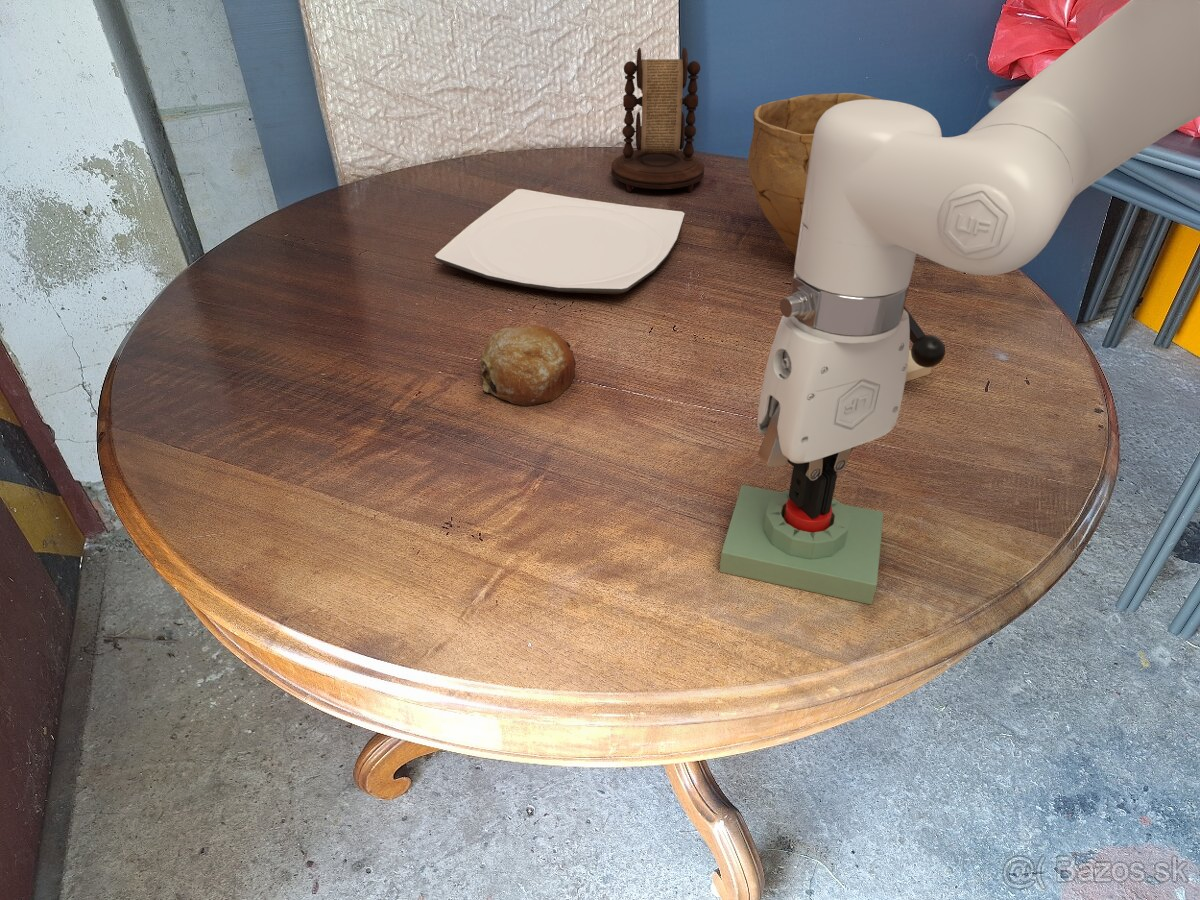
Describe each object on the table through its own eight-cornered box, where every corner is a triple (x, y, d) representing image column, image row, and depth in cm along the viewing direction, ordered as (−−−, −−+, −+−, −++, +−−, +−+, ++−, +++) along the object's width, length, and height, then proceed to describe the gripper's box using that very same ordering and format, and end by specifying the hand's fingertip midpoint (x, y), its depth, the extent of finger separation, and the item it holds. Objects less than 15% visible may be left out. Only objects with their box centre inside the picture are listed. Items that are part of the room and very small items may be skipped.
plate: (632, 316, 107) (632, 296, 105) (420, 278, 115) (418, 259, 113) (695, 227, 128) (697, 210, 127) (514, 201, 136) (513, 184, 135)
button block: (878, 531, 76) (888, 494, 74) (871, 605, 69) (881, 567, 67) (739, 503, 79) (743, 467, 77) (718, 572, 72) (723, 535, 70)
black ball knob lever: (940, 369, 90) (957, 350, 88) (916, 377, 89) (933, 358, 86) (871, 273, 95) (885, 253, 93) (848, 279, 94) (861, 259, 91)
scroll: (613, 199, 137) (615, 60, 125) (609, 166, 149) (610, 36, 137) (709, 198, 138) (720, 60, 126) (697, 165, 149) (706, 36, 137)
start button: (831, 513, 73) (834, 497, 72) (826, 542, 70) (830, 525, 69) (787, 505, 74) (789, 488, 73) (780, 532, 71) (783, 516, 70)
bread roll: (479, 400, 98) (446, 354, 92) (542, 337, 101) (515, 288, 95) (536, 439, 93) (506, 392, 86) (602, 371, 95) (577, 321, 89)
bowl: (725, 288, 113) (740, 127, 101) (750, 227, 128) (766, 81, 116) (895, 311, 108) (932, 144, 96) (900, 245, 124) (932, 95, 112)
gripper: (791, 348, 55) (759, 565, 66) (970, 297, 60) (912, 505, 71) (723, 298, 60) (703, 506, 71) (893, 255, 66) (850, 455, 77)
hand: (808, 505), depth 71 cm, fingers closed
